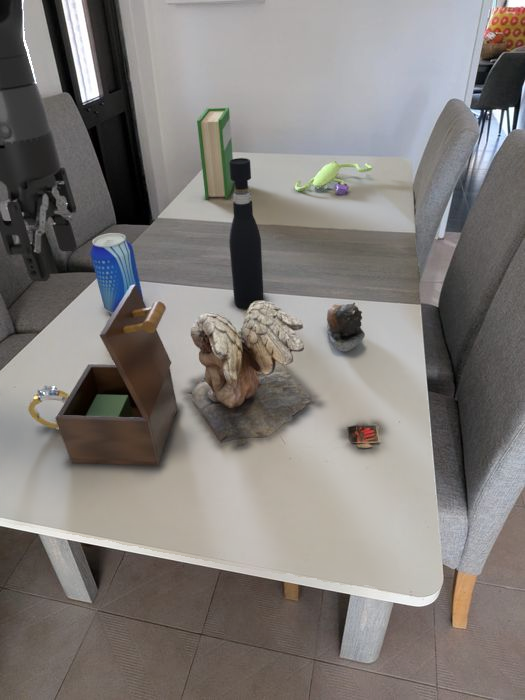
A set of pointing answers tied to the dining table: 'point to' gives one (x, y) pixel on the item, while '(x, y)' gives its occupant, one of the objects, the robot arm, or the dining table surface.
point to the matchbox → (363, 434)
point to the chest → (114, 422)
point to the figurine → (331, 177)
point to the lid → (138, 348)
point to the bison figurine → (344, 326)
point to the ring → (44, 394)
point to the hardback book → (216, 151)
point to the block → (111, 406)
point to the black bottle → (244, 240)
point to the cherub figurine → (248, 372)
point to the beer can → (114, 268)
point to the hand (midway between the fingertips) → (55, 264)
